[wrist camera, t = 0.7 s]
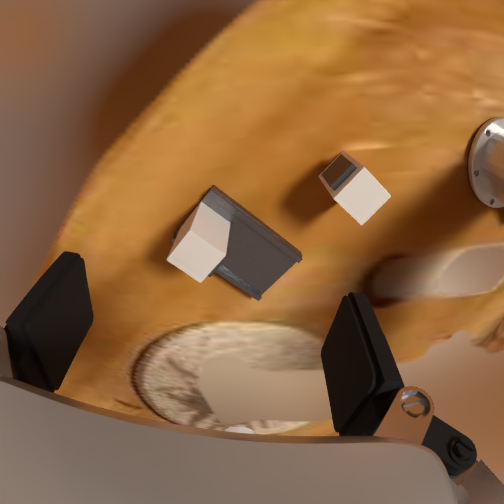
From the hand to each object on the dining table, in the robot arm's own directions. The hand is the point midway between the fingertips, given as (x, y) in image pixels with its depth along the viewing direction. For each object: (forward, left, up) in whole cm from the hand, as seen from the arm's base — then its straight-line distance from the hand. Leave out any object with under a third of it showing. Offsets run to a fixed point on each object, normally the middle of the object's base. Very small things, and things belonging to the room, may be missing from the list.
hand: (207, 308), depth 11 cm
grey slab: (-7, +8, -24) cm, 27 cm away
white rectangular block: (-10, -6, -24) cm, 27 cm away
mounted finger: (-2, +8, -23) cm, 25 cm away
